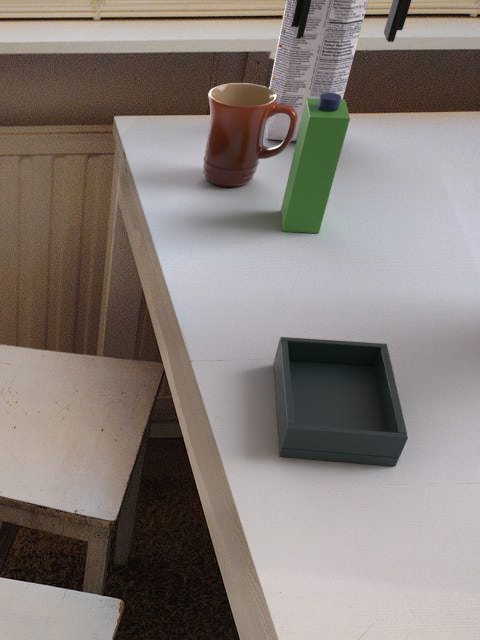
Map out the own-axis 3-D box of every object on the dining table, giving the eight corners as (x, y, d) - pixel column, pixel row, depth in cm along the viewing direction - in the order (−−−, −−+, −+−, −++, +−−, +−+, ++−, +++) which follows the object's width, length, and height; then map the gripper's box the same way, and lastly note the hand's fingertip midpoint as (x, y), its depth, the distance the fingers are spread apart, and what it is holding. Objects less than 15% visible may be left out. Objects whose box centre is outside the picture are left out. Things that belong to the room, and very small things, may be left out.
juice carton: (331, 147, 120) (395, -96, 99) (258, 142, 122) (305, -98, 102) (332, 125, 126) (393, -111, 105) (263, 120, 128) (309, -113, 107)
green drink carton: (280, 210, 108) (309, 86, 97) (315, 212, 108) (348, 87, 97) (282, 231, 104) (312, 105, 93) (319, 233, 104) (353, 106, 93)
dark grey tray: (272, 364, 86) (280, 336, 83) (376, 371, 85) (386, 343, 82) (279, 456, 76) (287, 428, 74) (395, 466, 75) (408, 437, 73)
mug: (188, 186, 114) (200, 101, 106) (205, 162, 118) (218, 79, 111) (275, 199, 110) (294, 113, 102) (289, 174, 115) (308, 90, 107)
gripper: (488, -188, 78) (419, 28, 92) (302, -188, 80) (262, 23, 94) (505, -175, 74) (430, 50, 87) (307, -175, 76) (264, 45, 89)
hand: (343, 36), depth 91 cm, fingers open, 9 cm apart
